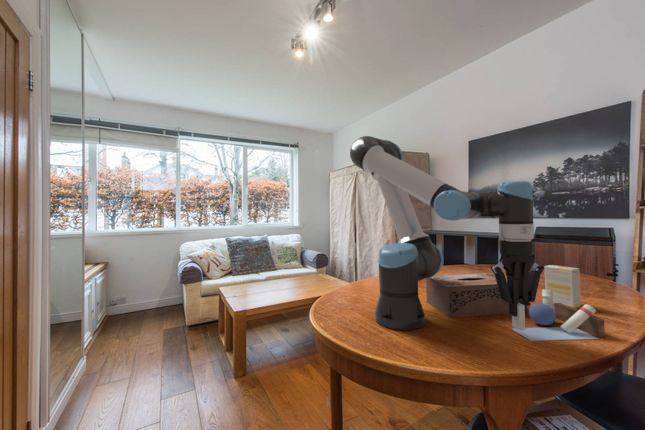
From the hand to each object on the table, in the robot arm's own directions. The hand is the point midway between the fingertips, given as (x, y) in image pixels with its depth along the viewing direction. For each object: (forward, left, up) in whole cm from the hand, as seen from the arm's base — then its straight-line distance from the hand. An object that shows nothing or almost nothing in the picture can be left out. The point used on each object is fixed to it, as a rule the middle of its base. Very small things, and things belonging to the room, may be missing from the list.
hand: (518, 327), depth 71 cm
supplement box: (+30, +21, -2) cm, 37 cm away
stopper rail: (+19, +4, -2) cm, 20 cm away
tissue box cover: (-1, +21, -3) cm, 22 cm away
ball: (+11, +6, +1) cm, 12 cm away
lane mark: (+9, 0, -2) cm, 9 cm away
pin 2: (+12, 0, -1) cm, 12 cm away
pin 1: (+14, +7, -2) cm, 16 cm away
